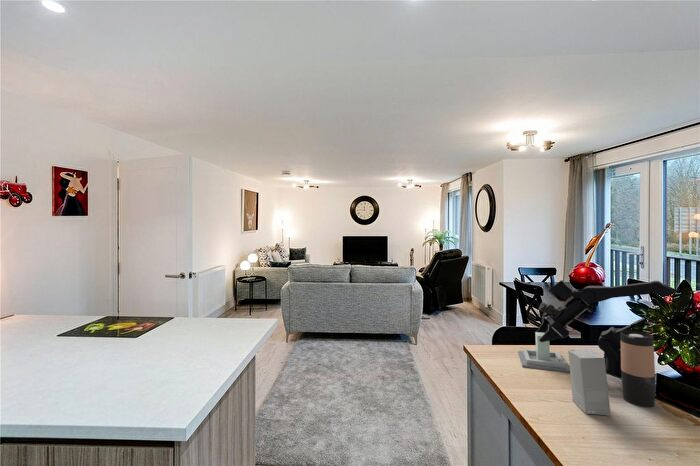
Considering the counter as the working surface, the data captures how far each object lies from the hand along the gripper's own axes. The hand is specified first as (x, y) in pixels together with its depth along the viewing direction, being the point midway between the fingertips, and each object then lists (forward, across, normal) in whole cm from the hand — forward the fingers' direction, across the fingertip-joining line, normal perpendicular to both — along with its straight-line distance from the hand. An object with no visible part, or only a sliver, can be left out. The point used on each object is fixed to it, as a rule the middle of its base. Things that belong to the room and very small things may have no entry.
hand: (538, 337), depth 131 cm
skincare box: (+1, +34, +12) cm, 36 cm away
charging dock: (+6, 0, +8) cm, 9 cm away
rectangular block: (+5, 0, +7) cm, 9 cm away
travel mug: (-9, +25, +23) cm, 35 cm away
